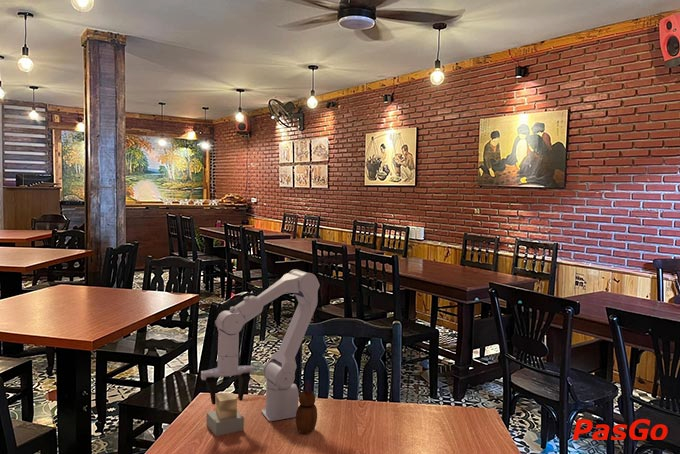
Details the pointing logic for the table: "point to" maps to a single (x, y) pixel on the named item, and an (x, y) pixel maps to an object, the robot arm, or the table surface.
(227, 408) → the maple cube
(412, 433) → the table surface
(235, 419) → the slate base block
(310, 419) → the wooden figurine
